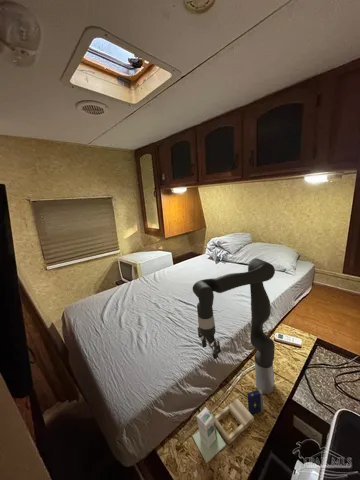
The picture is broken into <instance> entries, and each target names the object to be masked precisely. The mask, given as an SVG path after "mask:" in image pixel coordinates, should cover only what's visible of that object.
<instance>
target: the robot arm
mask: <svg viewBox="0 0 360 480" xmlns="http://www.w3.org/2000/svg"><path fill="white" fill-rule="evenodd" d="M275 269H276V268H275V266H274V265H273V264H271V263H270V262H268V261H265V260H263V259H260V258H256V257H255V258H253V259H251V260H250V261H249V263H248V266H247V271H245V272H244V271H243V272H231V273H227V274H224V275H221V276H217V277H214V278H212V277H211V278H207V279H206V278H205V279H204V278H203V279H199V280H198V281H196V282H195V283H194V284H193V285H192V292H193V294H194V295H195V297H197V298H198V303H197V305H196V310H197V323H198V327H197V336H198V338H200V341H201V346H202V348H204V349H205V348H207V345H208V347H209V348H210V349H211V351H212V358H213V360H217V359H218V358H219V354H220V353H221V352H222V350H221V343H220V341H219V339H218V340H216V338H215V335H216V322H215V317H214V316H215V315H214V309H213V307H214V306H213V305H214V299H215V293H217V294H222V293H225V292H228V291H230V290H231V291H232V290H233V289H236V288H240V287H243V286H247V285H249V286H250V287H249V288H250V289H249V291H250V313H251V317H250V318H251V327H250V329H251V330H250V338H249V339H250V344H251V346H252V347H253V348H254V349H256V352H255V353H254V371H255V372H254V375H255V386H256V388H257V389H256V390H258V389H261V390H262V392H263V394H266V395H267V394H269V395H270V394H272V392H273V391H274V386H275V371H274V360H275V350H276V349H275V348H276V346H275V341H274V340H273V339H272V338H270V337H269V336H268V335H267V334H265V333H264V323H265V322H267V321H268V319H269V318H270V317H271V301H270V298H269V296H268V293H267V291H266V289H265V285H264V282H265V283H266V282H268V281H270V280H271V279H273V278H274V276H275V273H276V270H275ZM214 292H215V293H214Z"/></svg>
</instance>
